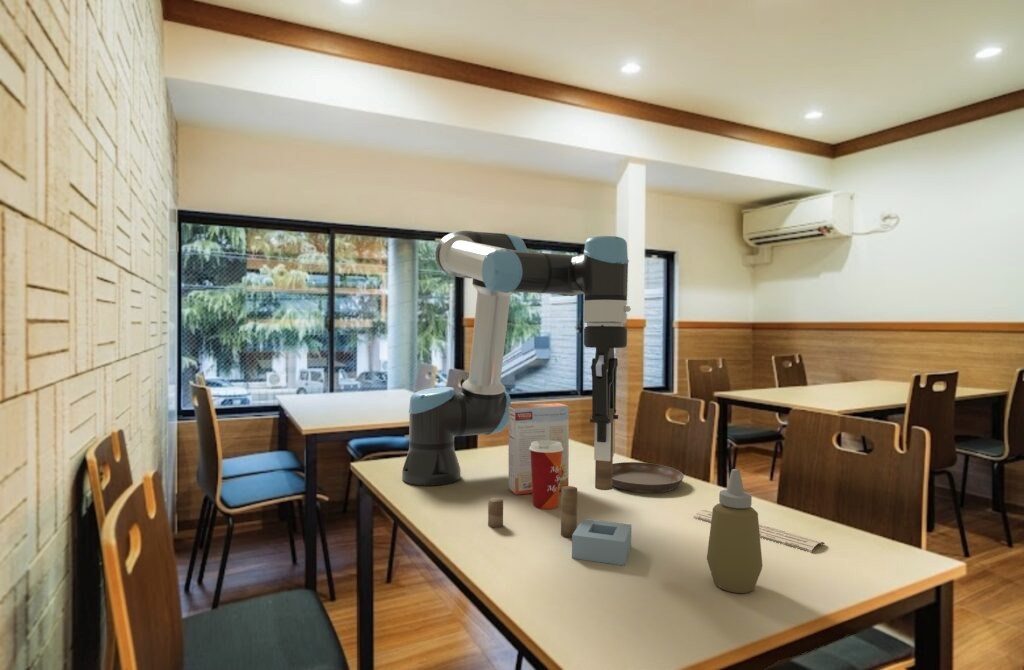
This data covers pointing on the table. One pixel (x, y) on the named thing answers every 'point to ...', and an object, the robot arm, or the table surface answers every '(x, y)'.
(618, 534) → the slate-blue socket block
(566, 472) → the cracker box
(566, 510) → the medium walnut peg
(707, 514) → the newspaper
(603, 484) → the long walnut peg
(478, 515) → the table surface
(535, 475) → the paper cup
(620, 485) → the plant saucer
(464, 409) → the robot arm
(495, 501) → the short walnut peg
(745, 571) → the squeeze bottle
